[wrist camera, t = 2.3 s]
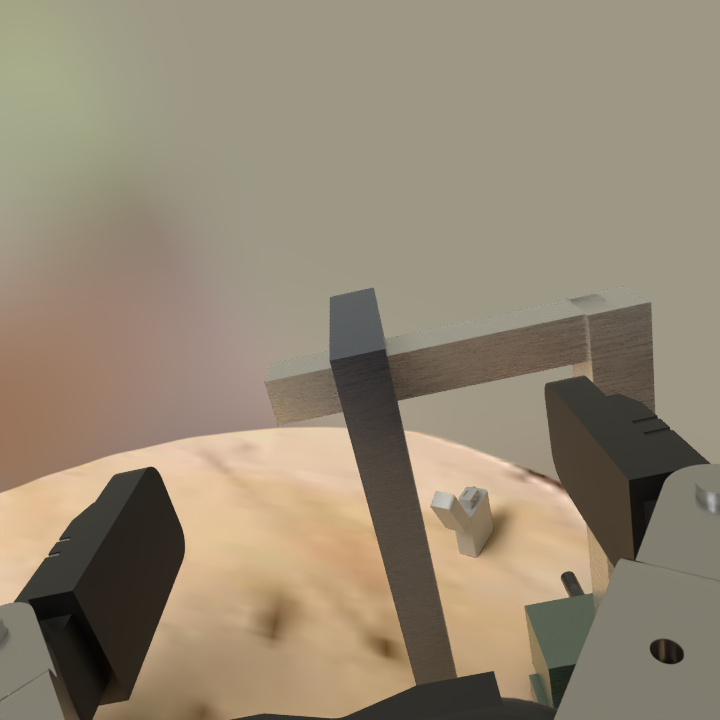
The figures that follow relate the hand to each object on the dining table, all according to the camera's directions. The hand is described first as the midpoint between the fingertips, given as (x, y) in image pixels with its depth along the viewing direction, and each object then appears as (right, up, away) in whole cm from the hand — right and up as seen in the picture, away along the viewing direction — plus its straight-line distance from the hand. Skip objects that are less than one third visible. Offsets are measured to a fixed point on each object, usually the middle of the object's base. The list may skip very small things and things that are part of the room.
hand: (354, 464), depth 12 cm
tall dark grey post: (+4, -14, +20) cm, 25 cm away
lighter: (+10, -15, +40) cm, 44 cm away
